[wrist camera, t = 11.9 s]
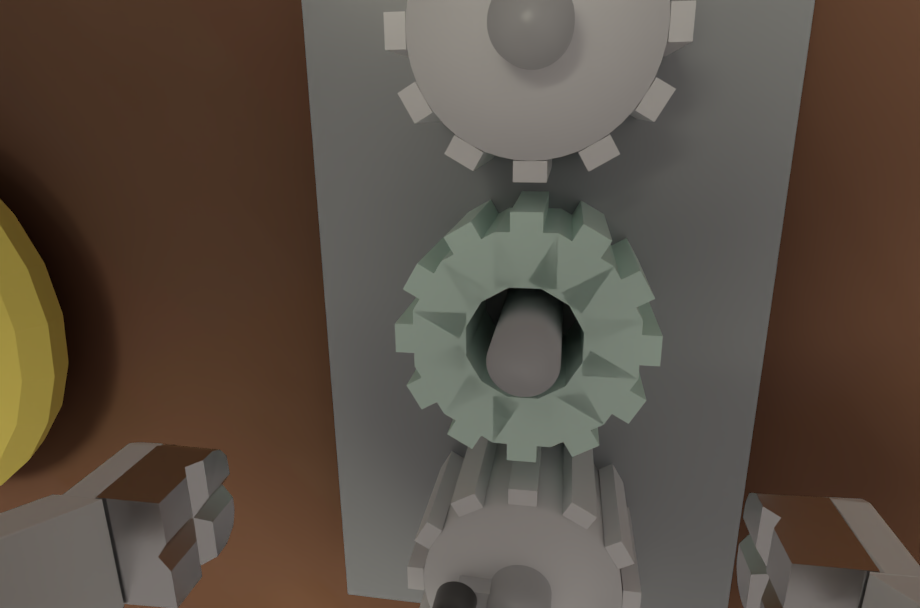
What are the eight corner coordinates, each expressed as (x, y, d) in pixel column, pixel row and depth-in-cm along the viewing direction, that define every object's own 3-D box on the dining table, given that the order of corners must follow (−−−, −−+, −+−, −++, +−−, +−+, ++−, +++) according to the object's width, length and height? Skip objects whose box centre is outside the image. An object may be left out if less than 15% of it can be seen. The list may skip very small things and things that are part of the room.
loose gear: (425, 190, 19) (389, 209, 16) (652, 192, 18) (674, 214, 14) (430, 390, 21) (400, 451, 18) (635, 404, 20) (650, 471, 16)
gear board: (711, 598, 24) (781, 844, 16) (363, 559, 26) (272, 758, 18) (810, -144, 17) (1029, -376, 9) (318, -109, 19) (134, -267, 11)
